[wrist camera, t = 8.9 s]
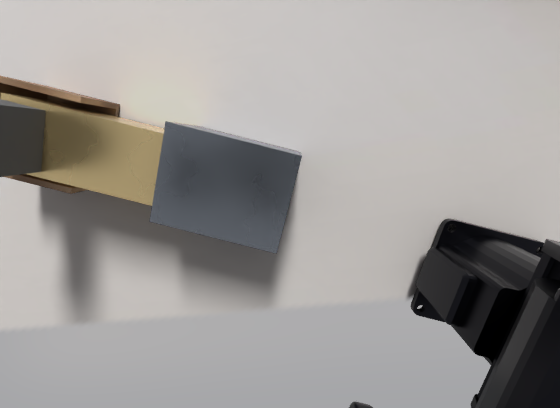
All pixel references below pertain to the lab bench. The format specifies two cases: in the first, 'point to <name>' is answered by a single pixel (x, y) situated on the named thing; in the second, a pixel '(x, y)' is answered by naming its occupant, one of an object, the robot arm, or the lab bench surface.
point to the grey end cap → (224, 186)
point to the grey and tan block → (79, 147)
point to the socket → (53, 94)
